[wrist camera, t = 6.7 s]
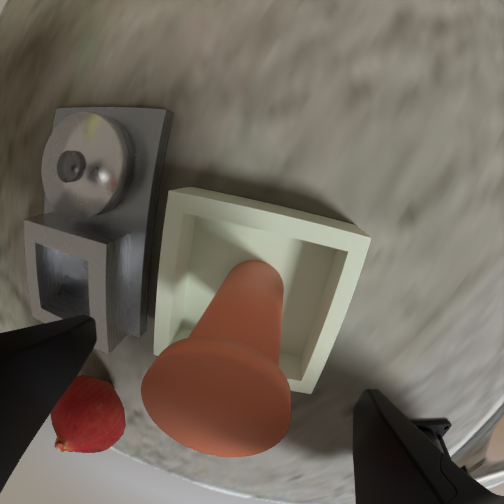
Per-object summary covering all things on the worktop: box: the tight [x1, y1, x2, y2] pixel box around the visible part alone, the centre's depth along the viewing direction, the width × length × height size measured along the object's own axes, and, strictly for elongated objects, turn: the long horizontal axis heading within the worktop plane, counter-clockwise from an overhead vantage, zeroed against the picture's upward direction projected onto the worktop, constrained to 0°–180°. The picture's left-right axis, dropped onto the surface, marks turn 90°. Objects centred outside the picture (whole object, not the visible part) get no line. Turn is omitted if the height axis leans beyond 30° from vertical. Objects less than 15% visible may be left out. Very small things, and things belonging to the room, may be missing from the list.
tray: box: [154, 187, 371, 394], centre depth 14 cm, size 9×9×3 cm
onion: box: [51, 375, 126, 453], centre depth 16 cm, size 6×6×8 cm
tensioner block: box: [24, 107, 174, 354], centre depth 14 cm, size 8×13×4 cm, turn 168°
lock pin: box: [141, 260, 291, 457], centre depth 10 cm, size 4×4×9 cm
